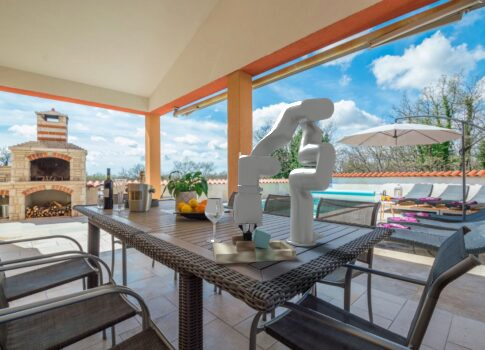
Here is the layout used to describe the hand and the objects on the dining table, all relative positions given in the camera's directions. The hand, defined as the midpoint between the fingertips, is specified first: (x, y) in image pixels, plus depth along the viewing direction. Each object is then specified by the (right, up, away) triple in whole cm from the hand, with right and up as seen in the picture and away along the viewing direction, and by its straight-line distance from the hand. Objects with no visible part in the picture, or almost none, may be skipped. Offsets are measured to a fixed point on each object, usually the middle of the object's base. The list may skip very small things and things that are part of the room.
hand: (247, 243), depth 86 cm
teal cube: (+4, -1, 0) cm, 4 cm away
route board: (+2, -4, +1) cm, 5 cm away
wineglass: (-14, -4, +18) cm, 23 cm away
